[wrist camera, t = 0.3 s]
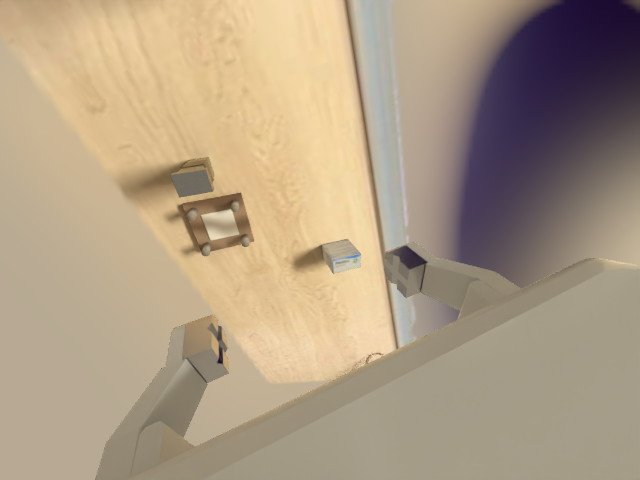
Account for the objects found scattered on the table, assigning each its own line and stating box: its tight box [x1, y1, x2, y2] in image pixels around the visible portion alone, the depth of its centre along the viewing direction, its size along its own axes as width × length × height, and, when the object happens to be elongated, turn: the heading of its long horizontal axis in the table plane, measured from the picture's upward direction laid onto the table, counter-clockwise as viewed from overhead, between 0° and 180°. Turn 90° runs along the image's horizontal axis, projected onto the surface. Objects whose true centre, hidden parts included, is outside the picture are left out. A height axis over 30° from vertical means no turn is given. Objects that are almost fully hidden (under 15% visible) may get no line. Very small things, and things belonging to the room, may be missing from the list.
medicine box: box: [322, 239, 361, 274], centre depth 64 cm, size 8×4×9 cm, turn 94°
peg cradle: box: [182, 193, 254, 256], centre depth 52 cm, size 12×12×5 cm
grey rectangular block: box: [170, 157, 214, 198], centre depth 43 cm, size 4×5×13 cm
